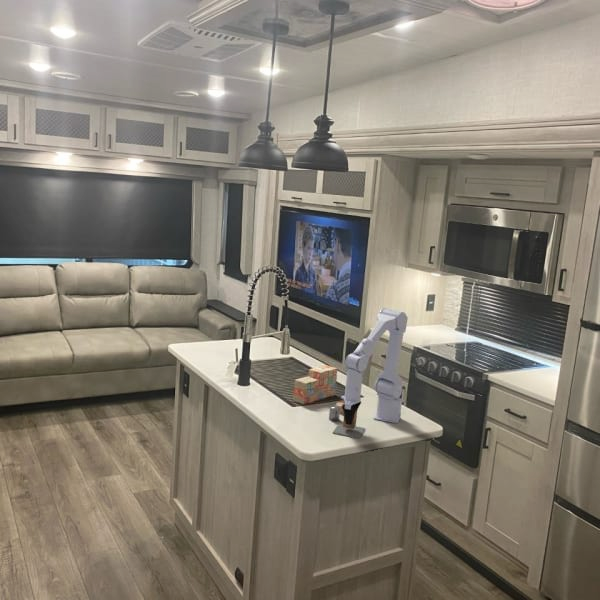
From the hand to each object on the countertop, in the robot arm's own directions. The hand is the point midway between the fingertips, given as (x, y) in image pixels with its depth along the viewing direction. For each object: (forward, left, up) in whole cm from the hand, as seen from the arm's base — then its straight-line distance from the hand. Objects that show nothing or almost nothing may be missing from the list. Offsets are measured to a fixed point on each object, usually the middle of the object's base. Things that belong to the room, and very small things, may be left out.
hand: (349, 422), depth 221 cm
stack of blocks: (+22, -30, -4) cm, 38 cm away
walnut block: (0, 0, -2) cm, 2 cm away
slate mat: (0, 0, -4) cm, 4 cm away
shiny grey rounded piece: (+8, -9, -4) cm, 13 cm away
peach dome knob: (+8, -19, -4) cm, 21 cm away
